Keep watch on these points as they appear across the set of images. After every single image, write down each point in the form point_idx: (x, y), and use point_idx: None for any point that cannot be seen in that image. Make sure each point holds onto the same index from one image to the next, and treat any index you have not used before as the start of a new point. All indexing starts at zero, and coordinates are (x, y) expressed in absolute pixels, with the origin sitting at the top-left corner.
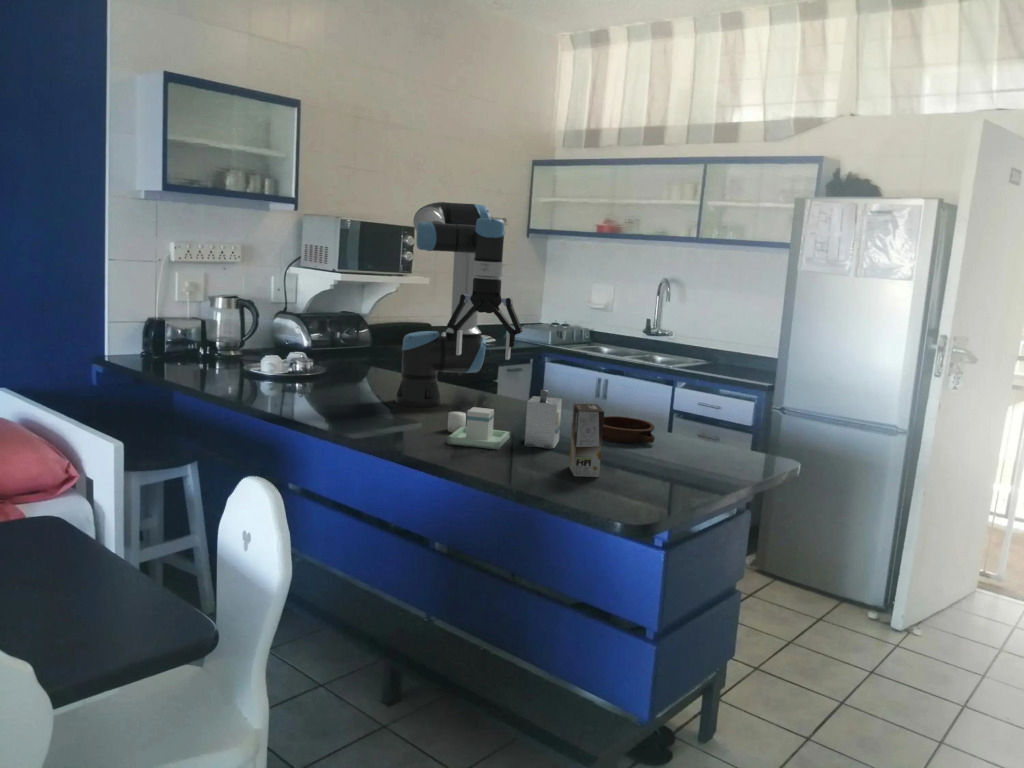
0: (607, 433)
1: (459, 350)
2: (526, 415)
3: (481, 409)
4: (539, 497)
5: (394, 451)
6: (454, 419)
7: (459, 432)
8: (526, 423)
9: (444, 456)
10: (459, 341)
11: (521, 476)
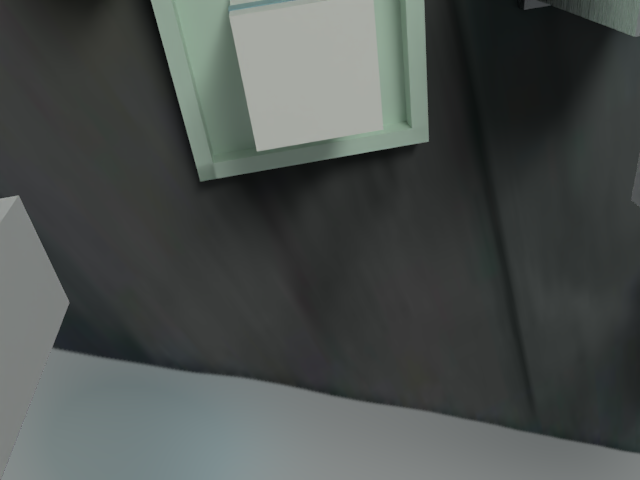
0: None
1: (44, 321)
2: (585, 17)
3: (306, 54)
4: (608, 446)
5: (110, 350)
6: None
7: (181, 35)
8: (564, 9)
9: (281, 312)
10: (13, 440)
11: (553, 353)
